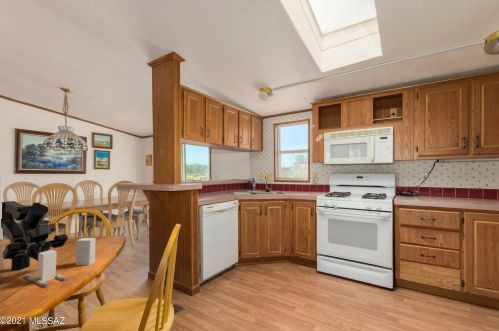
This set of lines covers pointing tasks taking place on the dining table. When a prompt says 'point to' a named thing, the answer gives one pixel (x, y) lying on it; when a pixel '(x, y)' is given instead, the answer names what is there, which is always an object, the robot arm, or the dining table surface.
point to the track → (43, 281)
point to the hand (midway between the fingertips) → (44, 263)
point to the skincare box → (85, 251)
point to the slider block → (47, 265)
